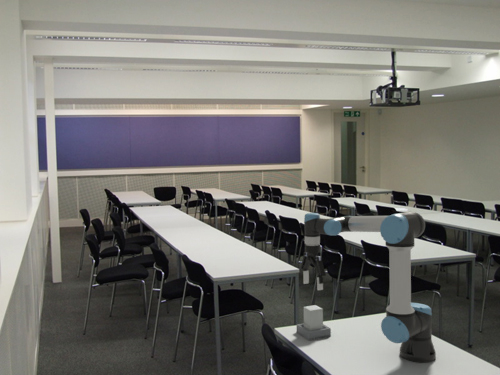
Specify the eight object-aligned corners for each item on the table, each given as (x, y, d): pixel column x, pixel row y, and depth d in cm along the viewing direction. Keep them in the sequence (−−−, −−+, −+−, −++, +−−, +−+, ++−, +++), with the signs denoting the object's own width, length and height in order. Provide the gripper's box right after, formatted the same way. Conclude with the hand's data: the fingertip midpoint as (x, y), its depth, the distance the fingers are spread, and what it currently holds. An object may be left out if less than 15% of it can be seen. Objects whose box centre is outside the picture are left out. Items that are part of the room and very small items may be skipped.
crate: (330, 336, 243) (330, 328, 243) (308, 340, 238) (308, 332, 238) (317, 328, 255) (317, 320, 254) (296, 332, 250) (296, 324, 250)
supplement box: (323, 333, 244) (323, 308, 244) (310, 335, 242) (310, 310, 241) (316, 328, 251) (315, 304, 250) (303, 331, 249) (303, 306, 248)
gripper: (332, 247, 234) (333, 291, 235) (306, 240, 256) (307, 280, 258) (318, 249, 231) (319, 293, 232) (293, 241, 254) (294, 281, 255)
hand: (313, 286), depth 245 cm, fingers open, 13 cm apart
